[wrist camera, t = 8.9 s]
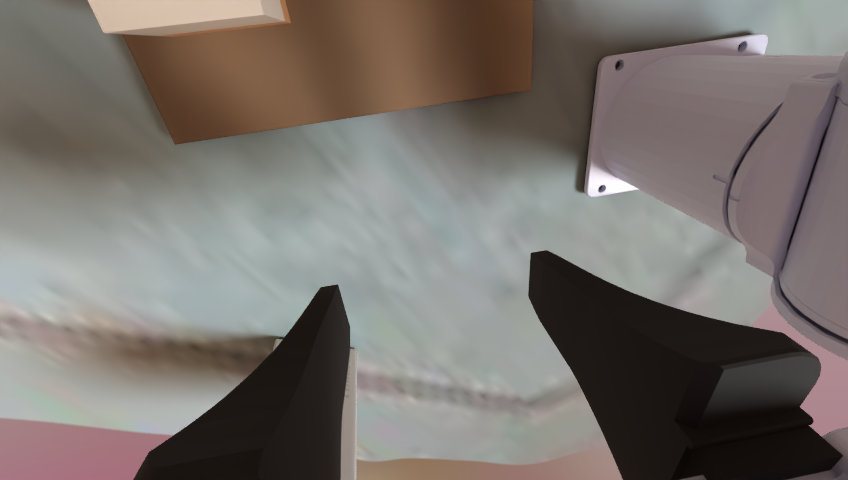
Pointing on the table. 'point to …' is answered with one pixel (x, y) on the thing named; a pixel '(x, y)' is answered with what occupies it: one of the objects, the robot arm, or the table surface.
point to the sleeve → (186, 16)
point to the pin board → (336, 64)
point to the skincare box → (347, 419)
